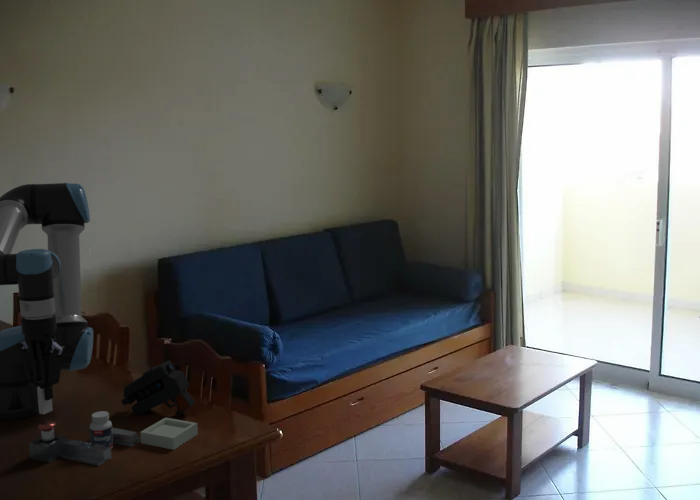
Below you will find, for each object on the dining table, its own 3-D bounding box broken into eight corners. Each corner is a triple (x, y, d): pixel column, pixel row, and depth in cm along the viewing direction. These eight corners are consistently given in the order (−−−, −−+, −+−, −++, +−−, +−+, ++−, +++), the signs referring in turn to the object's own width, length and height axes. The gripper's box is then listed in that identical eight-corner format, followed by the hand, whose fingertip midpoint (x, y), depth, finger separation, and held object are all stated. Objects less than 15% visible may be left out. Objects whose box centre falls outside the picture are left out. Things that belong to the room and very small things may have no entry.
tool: (192, 409, 194) (164, 361, 193) (137, 438, 199) (110, 392, 198) (201, 401, 200) (174, 355, 199) (148, 429, 205) (121, 384, 204)
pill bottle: (92, 454, 174) (90, 420, 172) (89, 446, 178) (86, 412, 177) (115, 450, 176) (113, 415, 175) (111, 442, 181) (109, 408, 179)
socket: (59, 457, 172) (58, 446, 172) (105, 432, 187) (104, 422, 186) (98, 466, 168) (97, 454, 167) (142, 439, 182) (142, 429, 182)
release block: (30, 458, 172) (29, 442, 171) (49, 448, 177) (48, 433, 177) (49, 462, 170) (48, 446, 169) (68, 452, 175) (67, 437, 174)
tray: (141, 443, 180) (140, 431, 179) (166, 428, 189) (165, 417, 189) (173, 449, 176) (173, 438, 176) (197, 434, 185) (197, 423, 185)
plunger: (36, 448, 172) (34, 425, 171) (48, 442, 176) (47, 420, 175) (48, 451, 171) (46, 428, 170) (60, 445, 174) (59, 422, 173)
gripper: (4, 317, 167) (12, 413, 171) (46, 322, 162) (54, 421, 166) (30, 309, 174) (37, 403, 178) (71, 314, 169) (78, 410, 172)
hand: (45, 411), depth 172 cm, fingers closed
